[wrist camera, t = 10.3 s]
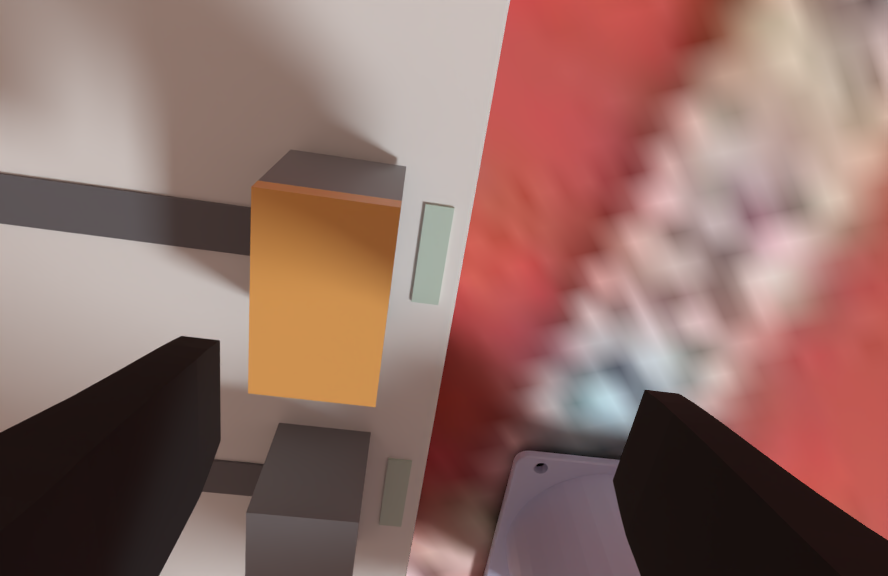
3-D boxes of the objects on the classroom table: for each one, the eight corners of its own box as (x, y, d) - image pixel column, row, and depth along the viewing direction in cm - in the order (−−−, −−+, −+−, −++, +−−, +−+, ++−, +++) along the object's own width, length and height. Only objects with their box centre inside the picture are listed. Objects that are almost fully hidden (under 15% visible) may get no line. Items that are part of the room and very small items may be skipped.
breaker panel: (502, -7, 16) (540, -22, 10) (401, 565, 25) (395, 713, 19) (-184, -128, 14) (-549, -218, 9) (-22, 530, 23) (-154, 681, 18)
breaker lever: (406, 166, 15) (400, 207, 12) (385, 331, 17) (375, 407, 14) (290, 149, 15) (251, 186, 12) (283, 319, 17) (247, 393, 14)
